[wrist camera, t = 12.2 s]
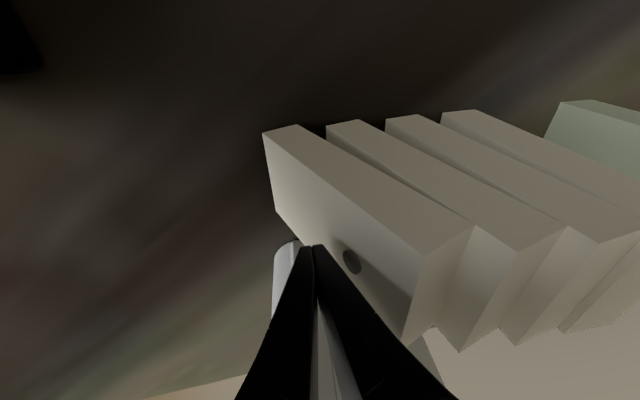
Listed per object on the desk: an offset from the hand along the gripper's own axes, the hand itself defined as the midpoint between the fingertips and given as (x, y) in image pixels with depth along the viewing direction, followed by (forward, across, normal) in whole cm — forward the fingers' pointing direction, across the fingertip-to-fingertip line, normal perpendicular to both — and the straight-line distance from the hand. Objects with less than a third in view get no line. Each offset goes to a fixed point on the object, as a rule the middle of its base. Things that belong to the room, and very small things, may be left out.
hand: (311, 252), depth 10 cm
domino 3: (+7, -6, 0) cm, 9 cm away
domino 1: (+7, +1, 0) cm, 7 cm away
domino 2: (+7, -2, 0) cm, 7 cm away
